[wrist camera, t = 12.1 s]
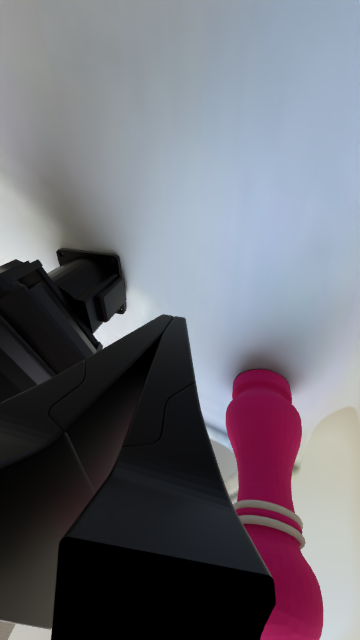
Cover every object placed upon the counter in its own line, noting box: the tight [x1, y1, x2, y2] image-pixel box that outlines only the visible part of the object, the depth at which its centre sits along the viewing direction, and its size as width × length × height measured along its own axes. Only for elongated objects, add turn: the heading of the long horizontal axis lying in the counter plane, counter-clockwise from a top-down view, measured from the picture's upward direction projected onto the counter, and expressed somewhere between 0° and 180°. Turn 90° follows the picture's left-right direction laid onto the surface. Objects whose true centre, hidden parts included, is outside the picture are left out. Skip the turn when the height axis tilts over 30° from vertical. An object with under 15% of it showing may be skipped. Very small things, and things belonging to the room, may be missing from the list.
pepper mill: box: [226, 369, 323, 640], centre depth 19 cm, size 7×7×20 cm
